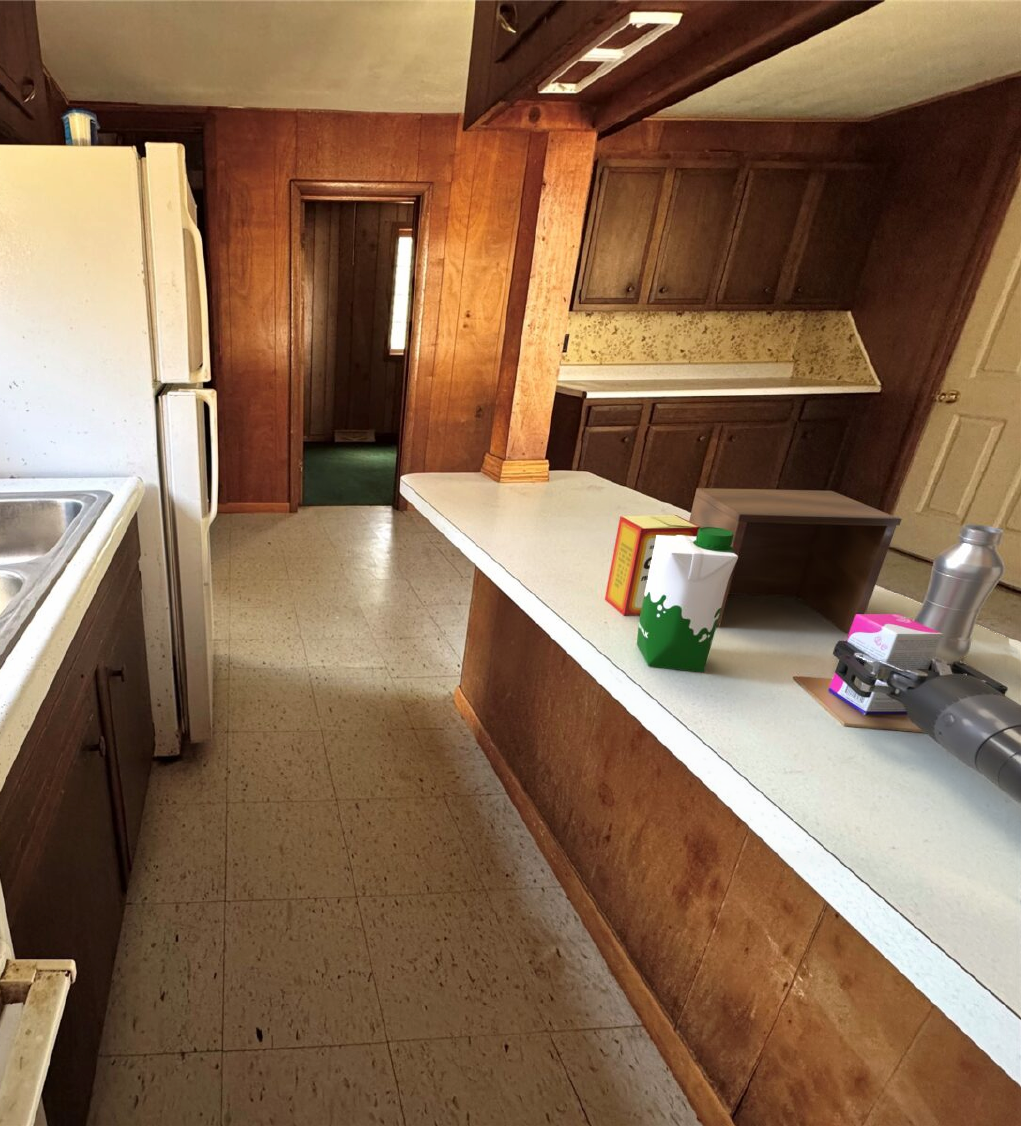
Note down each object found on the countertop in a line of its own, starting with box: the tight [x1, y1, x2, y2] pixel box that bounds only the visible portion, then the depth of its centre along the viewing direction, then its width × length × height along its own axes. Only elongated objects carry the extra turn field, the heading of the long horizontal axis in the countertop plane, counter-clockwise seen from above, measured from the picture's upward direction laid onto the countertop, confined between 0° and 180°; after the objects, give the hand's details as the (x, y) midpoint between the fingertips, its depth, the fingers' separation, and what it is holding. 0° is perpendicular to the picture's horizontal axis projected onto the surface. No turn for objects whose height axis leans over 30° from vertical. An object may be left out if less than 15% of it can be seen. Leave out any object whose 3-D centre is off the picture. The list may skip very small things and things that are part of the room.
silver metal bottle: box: [912, 523, 1006, 665], centre depth 86 cm, size 6×7×20 cm
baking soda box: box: [604, 514, 701, 617], centre depth 105 cm, size 10×6×16 cm
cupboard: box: [688, 487, 903, 635], centre depth 102 cm, size 16×21×19 cm
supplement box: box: [828, 613, 943, 715], centre depth 78 cm, size 6×6×12 cm
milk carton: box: [636, 527, 738, 673], centre depth 88 cm, size 9×9×20 cm
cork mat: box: [792, 675, 926, 734], centre depth 80 cm, size 11×11×1 cm
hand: (871, 648), depth 79 cm, fingers open, 6 cm apart
